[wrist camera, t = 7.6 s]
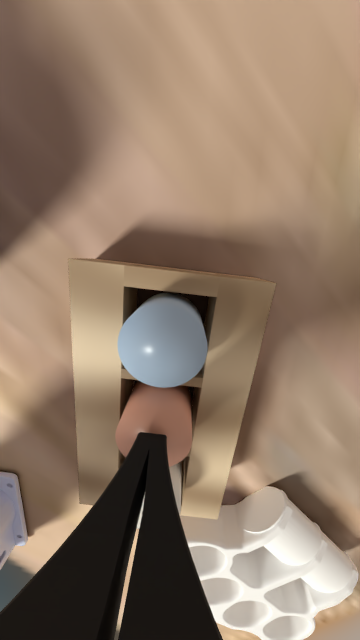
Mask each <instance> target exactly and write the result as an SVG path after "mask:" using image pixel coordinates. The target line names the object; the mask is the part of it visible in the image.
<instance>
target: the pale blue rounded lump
mask: <svg viewBox="0 0 360 640" xmlns="http://www.w3.org/2000/svg"><path fill="white" fill-rule="evenodd" d="M207 349H208V348H207V339H206V335H205V331H204V327H203V323H202V319H201V315H200V313H199V311H198V309H197V308H196V306H195V305H194V304H193V303H192V302H191V301H190V300H189V299H187V298H186V297H184V296H182V295H179V294H176V293H160V294H157V295H154V296H152V297H150V298H149V299H147V300H146V301H145V302H144V303H143V304H142V305H141V306H140V307H139V308H138V309H137V310H136V311H135V312H134V313H133V314H132V315H131V316H130V317H129V318H128V319H127V320H126V321H125V323H124V324H123V326H122V328H121V330H120V333H119V336H118V353H119V357H120V360H121V362H122V364H123V365H124V367H125V368H126V370H127V371H128V372H129V373H130V374H131V375H132V376H133V377H134V378H136V379H137V380H139V381H141V382H142V383H145V384H147V385H150V386H154V387H161V388H168V387H175V386H178V385H181V384H184V383H186V382H188V381H189V380H191V379H192V378H193V377H195V376H196V375H197V374H198V372H199V371H200V370H201V368H202V367H203V365H204V363H205V360H206V356H207Z"/></svg>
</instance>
